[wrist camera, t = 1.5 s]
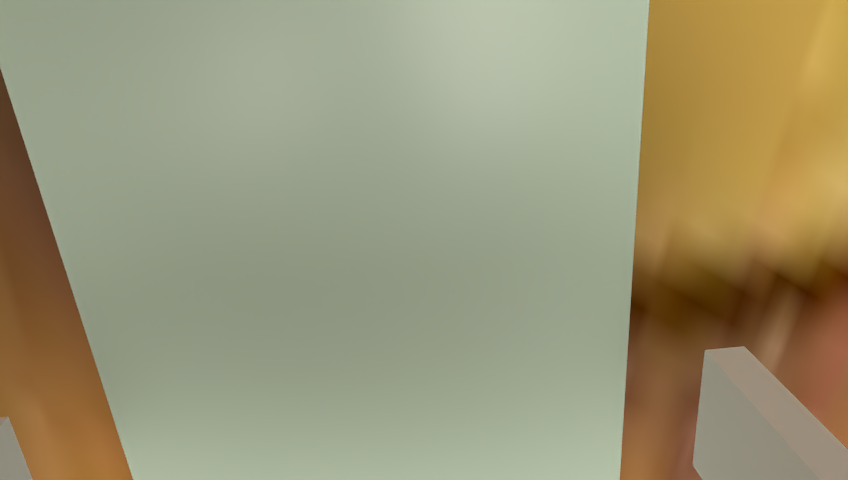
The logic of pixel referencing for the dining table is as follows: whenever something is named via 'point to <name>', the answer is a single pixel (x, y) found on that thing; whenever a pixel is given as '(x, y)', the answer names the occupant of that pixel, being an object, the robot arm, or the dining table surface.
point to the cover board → (344, 227)
